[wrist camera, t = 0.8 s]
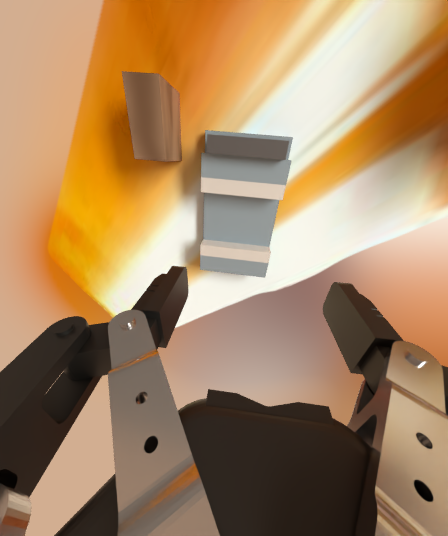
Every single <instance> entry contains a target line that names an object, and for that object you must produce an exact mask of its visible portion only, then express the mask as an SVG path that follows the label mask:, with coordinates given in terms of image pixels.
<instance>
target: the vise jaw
mask: <svg viewBox="0 0 448 536" xmlns="http://www.w3.org/2000/svg"><path fill="white" fill-rule="evenodd" d="M288 145H289V141H285V140H273V139H261V138H248V137H236V136H224V135H212V134H207V153H201V192H205V193H215V194H225V195H235V196H245V197H255V198H265V199H276V200H283V196H284V191H285V187H286V182H287V178H288V173H289V169H290V165H291V160H286V155H287V150H288Z"/></svg>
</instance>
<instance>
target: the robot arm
mask: <svg viewBox="0 0 448 536" xmlns="http://www.w3.org/2000/svg"><path fill="white" fill-rule="evenodd" d="M187 297H188V278H187V269H186V267H178V266H172V267H171V268H170V270H169V271H168V273H167V274H161V275H160V276H158V277H156V278H155V279H154V280H153V282H152V283H151V284H150V286H149V287H148V288H147V290H146V291H145V292H144V294H143V295H142V296H141V298H140V299H139V300H138V302H137V303H136V304H135V305H134V307H133V308H132V309H131V310H128V311H124V312H122V313H119V314H118V315H116V316H115V317H114V318H113V319H112V320H111V321H110V322H109V323H101V324H94V325H88V323H87V321H86V320H85V319H84V318H82V317H79V316H74V317H68V318H65V319H62V320H60V321H58V322H56V323H54V324H53V325H51V326H50V327H49V328H47V329H46V330H45V331H44V332H43V333H42V334H41V335H40V336H39V337H38V338H37V339H36V340H34V341H33V342H32V343H31V344H30V345H29V346H28V347H27V348H26V349H25V350H24V351H23V352H22V353H20V354H19V355H18V356H17V357H16V358H15V359H14V360H13V361H12V362H11V363H10V364H9V365H8V366H6V368H4V369H3V370H2V371H1V372H0V536H25V532H26V529H27V526H28V523H29V520H30V516H31V502H30V499H29V497H30V495H31V493H32V492H33V490H34V489H35V487H36V485H37V483H38V482H39V480H40V479H41V477H42V475H43V473H44V472H45V470H46V469H47V467H48V465H49V464H50V462H51V460H52V459H53V457H54V455H55V453H56V452H57V450H58V448H59V447H60V445H61V443H62V442H63V440H64V438H65V437H66V435H67V433H68V432H69V430H70V428H71V427H72V425H73V423H74V422H75V420H76V418H77V417H78V415H79V413H80V412H81V410H82V408H83V407H84V405H85V403H86V402H87V400H88V398H89V397H90V395H91V393H92V392H93V390H94V388H95V387H96V385H97V383H98V382H99V380H100V378H101V377H102V375H107V374H108V383H109V396H110V409H111V422H112V436H113V448H114V462H115V474H114V475H113V476H112V477H111V478H110V479H109V480H108V482H106V483H105V484H104V486H102V487H101V489H99V491H98V492H97V493H96V494H95V495H94V496H93V497H92V498H91V499H90V500H89V501H88V502H87V503H86V504H85V505H84V506H83V507H82V508H81V509H80V510H79V511H78V512H77V513H76V514H75V515H74V516H73V517H72V518H71V519H70V520H69V521H68V522H67V523H66V524H65V525H64V526H63V527H62V528H61V529H60V530H59V531H58V532H57V533H56V534H55V535H54V536H448V367H445V366H442V365H440V363H439V362H438V361H437V359H436V358H434V356H432V355H431V354H430V353H429V352H427V351H426V350H424V349H423V348H421V347H419V346H417V345H415V344H413V343H410V342H406V341H403V339H402V338H401V337H400V336H399V335H398V333H397V332H396V331H395V330H394V329H393V327H392V326H391V325H390V324H389V323H388V321H387V320H386V319H385V318H384V317H383V315H382V314H381V313H380V312H379V311H377V308H376V307H375V306H374V305H373V303H372V302H371V301H370V300H368V299H367V298H366V297H364V296H363V295H361V294H359V293H358V292H357V290H356V289H355V288H354V286H353V285H352V284H349V283H338V282H334V283H333V284H332V286H331V288H330V291H329V293H328V295H327V297H326V300H325V302H324V305H323V314H324V317H325V319H326V321H327V323H328V325H329V327H330V329H331V331H332V333H333V336H334V338H335V340H336V342H337V344H338V347H339V349H340V351H341V353H342V355H343V357H344V359H345V362H346V364H347V366H348V368H349V370H350V372H351V373H356V374H363V376H364V377H365V379H364V381H363V382H362V384H361V388H360V391H359V394H358V397H357V400H356V404H355V407H354V411H353V414H352V417H351V419H350V422H349V424H348V425H347V426H345V425H344V424H342V423H340V422H339V421H337V420H335V419H333V418H332V416H331V413H330V409H329V407H327V406H320V405H314V404H307V403H300V402H296V403H290V404H284V405H278V406H272V407H268V406H264V405H262V404H260V403H257V402H255V401H253V400H250V399H248V398H246V397H244V396H241V395H239V394H237V393H230V392H224V391H216V390H210V389H208V394H207V398H206V399H200V400H197V401H194V402H192V403H190V404H187V405H186V406H184V407H183V408H181V409H180V410H178V411H177V408H176V405H175V402H174V398H173V395H172V392H171V389H170V386H169V383H168V380H167V377H166V374H165V371H164V368H163V365H162V362H161V359H160V356H159V353H158V351H157V349H158V347H163V348H166V347H167V345H168V342H169V340H170V338H171V335H172V333H173V330H174V328H175V326H176V323H177V321H178V319H179V316H180V314H181V312H182V309H183V307H184V305H185V302H186V300H187ZM63 371H64V372H63ZM62 372H63V373H62ZM61 373H62V374H61ZM60 374H61V375H60ZM59 375H60V377H59ZM58 377H59V378H58ZM57 378H58V379H57ZM56 379H57V380H56ZM55 381H56V382H55ZM54 382H55V383H54ZM53 383H54V384H53ZM52 384H53V386H52ZM51 386H52V387H51ZM50 387H51V388H50ZM49 388H50V389H49ZM48 389H49V391H48ZM47 391H48V392H47ZM46 392H47V393H46Z"/></svg>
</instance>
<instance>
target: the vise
mask: <svg viewBox="0 0 448 536" xmlns="http://www.w3.org/2000/svg"><path fill="white" fill-rule="evenodd" d="M207 134H212V135H224V136H236V137H248V138H261V139H273V140H285V141H289V145H288V150H287V155H286V160H288V158H289V153H290V148H291V144H292V139H293V137H282V136H270V135H258V134H245V133H233V132H220V131H208V130H205V153H207ZM278 204H279V200H276V199H265V198H255V197H245V196H235V195H225V194H215V193H205V192H204V229H203V241H202V243H201V244H200V270H208V271H216V272H224V273H232V274H241V275H249V276H257V277H265V276H266V271H267V267H268V262H269V258H270V253H271V252H270V248H269V245H270V241H271V236H272V231H273V227H274V222H275V218H276V213H277V208H278Z"/></svg>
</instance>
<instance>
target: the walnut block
mask: <svg viewBox="0 0 448 536" xmlns="http://www.w3.org/2000/svg"><path fill="white" fill-rule="evenodd" d="M122 76H123V82H124V89H125V96H126V103H127V110H128V116H129V123H130V130H131V137H132V144H133V150H134V157H135V159H142V160H153V161H164V162H167V161H182V154H181V126H180V98H179V92H178V91H176V90H175V89H174V88H173V87H172V86H171V85H170V84H169V83H168V82H167V81H166V80H165V79H164V78H163V77H162V76H161V75H159V74H154V73H138V72H123V71H122Z"/></svg>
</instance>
